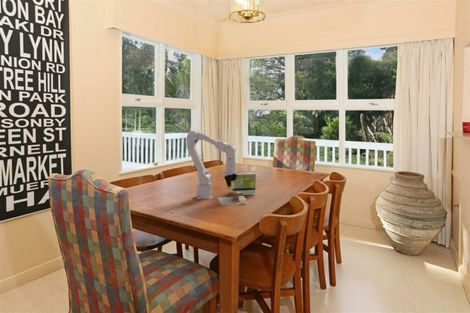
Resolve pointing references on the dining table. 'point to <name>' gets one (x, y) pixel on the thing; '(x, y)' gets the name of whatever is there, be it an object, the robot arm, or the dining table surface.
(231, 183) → the lead tab
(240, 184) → the tea box
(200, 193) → the robot arm
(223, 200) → the winding board
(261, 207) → the dining table surface
